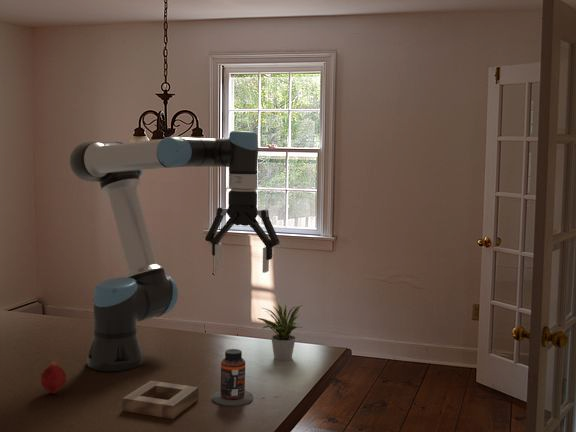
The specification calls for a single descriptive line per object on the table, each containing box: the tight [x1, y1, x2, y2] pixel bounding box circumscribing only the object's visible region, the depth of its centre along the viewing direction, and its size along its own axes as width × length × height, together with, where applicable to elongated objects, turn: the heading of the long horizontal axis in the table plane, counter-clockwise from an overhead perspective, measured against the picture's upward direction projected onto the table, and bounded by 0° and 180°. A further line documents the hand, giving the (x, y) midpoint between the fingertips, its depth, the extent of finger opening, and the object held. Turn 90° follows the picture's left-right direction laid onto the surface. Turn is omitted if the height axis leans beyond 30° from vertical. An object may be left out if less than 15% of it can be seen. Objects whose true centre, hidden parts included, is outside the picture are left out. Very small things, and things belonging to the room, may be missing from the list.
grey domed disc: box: [211, 390, 254, 407], centre depth 166 cm, size 10×10×1 cm
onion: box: [40, 361, 67, 394], centre depth 166 cm, size 6×6×8 cm
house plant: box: [257, 303, 304, 362], centre depth 200 cm, size 14×14×16 cm
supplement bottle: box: [219, 348, 246, 400], centre depth 165 cm, size 6×6×11 cm
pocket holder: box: [122, 380, 199, 420], centre depth 161 cm, size 13×13×3 cm
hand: (241, 269), depth 181 cm, fingers open, 13 cm apart
